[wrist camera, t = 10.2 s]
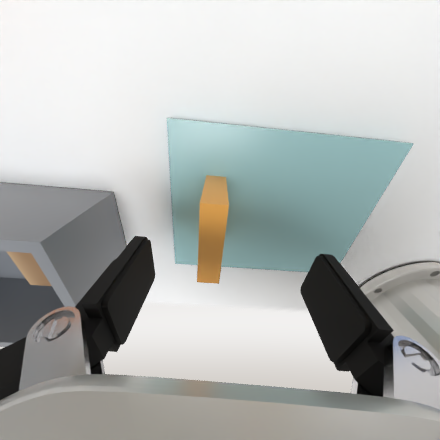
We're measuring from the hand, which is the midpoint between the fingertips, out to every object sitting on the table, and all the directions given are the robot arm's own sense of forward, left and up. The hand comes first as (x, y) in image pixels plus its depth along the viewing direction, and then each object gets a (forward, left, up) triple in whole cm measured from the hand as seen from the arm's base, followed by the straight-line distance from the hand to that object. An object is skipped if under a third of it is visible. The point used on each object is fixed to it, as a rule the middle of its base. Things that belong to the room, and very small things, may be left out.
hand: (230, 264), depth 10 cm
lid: (-3, -2, -7) cm, 8 cm away
